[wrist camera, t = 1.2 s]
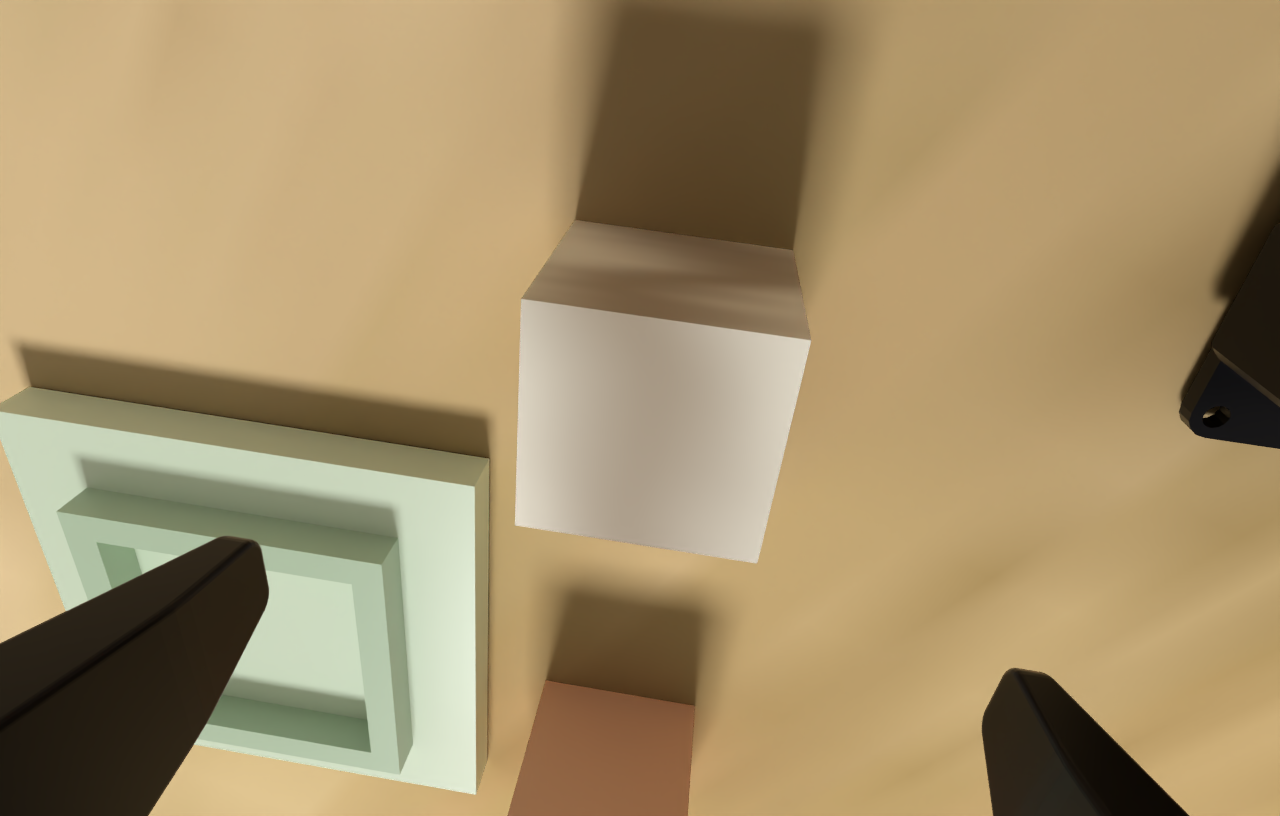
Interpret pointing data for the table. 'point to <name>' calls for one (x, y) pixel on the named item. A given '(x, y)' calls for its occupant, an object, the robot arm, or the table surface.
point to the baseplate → (288, 570)
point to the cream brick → (658, 388)
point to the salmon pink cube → (605, 755)
